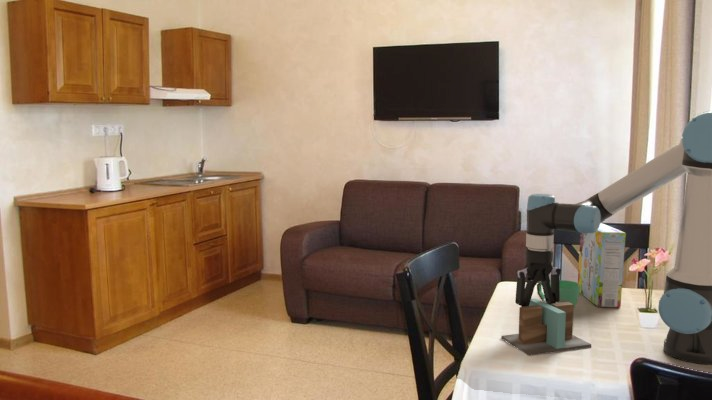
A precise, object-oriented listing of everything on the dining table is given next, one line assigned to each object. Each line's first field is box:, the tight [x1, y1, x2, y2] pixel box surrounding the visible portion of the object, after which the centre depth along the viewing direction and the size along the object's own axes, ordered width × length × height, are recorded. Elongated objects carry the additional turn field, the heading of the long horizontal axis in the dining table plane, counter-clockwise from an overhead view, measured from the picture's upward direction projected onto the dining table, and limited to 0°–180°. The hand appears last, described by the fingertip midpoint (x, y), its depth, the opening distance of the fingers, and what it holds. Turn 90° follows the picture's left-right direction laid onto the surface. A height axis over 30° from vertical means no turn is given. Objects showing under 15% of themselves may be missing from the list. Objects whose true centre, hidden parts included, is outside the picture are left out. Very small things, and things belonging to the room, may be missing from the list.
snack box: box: [577, 222, 627, 308], centre depth 222 cm, size 22×9×26 cm, turn 179°
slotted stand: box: [500, 302, 592, 356], centre depth 180 cm, size 14×20×11 cm
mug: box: [536, 279, 581, 311], centre depth 208 cm, size 15×10×10 cm
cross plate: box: [529, 298, 566, 349], centre depth 180 cm, size 14×2×10 cm, turn 18°
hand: (536, 326), depth 185 cm, fingers open, 6 cm apart
